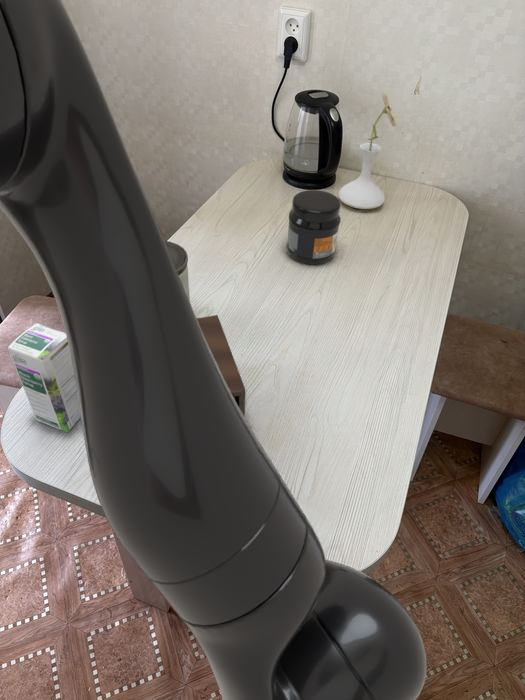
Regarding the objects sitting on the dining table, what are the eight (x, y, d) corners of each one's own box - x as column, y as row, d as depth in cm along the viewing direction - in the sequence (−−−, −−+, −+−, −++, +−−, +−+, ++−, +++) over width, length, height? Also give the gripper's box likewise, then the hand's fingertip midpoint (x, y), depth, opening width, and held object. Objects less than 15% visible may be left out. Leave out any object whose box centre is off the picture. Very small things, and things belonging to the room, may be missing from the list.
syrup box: (34, 421, 73) (3, 348, 63) (61, 393, 77) (35, 320, 67) (67, 433, 71) (41, 361, 61) (92, 404, 75) (71, 331, 65)
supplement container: (344, 259, 107) (353, 207, 98) (300, 270, 103) (307, 217, 95) (318, 235, 113) (325, 184, 105) (277, 245, 110) (281, 193, 101)
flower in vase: (376, 218, 120) (400, 107, 103) (331, 206, 124) (347, 97, 106) (390, 196, 129) (414, 90, 112) (347, 185, 132) (365, 81, 115)
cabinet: (244, 435, 72) (245, 390, 66) (154, 455, 69) (146, 409, 63) (218, 360, 83) (217, 314, 77) (140, 374, 80) (131, 328, 73)
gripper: (319, 494, 44) (269, 459, 60) (166, 534, 40) (158, 485, 57) (334, 579, 44) (280, 520, 61) (183, 625, 41) (170, 550, 57)
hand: (221, 503), depth 59 cm, fingers closed
